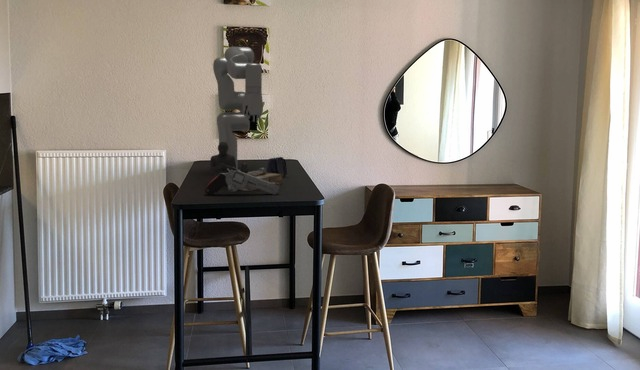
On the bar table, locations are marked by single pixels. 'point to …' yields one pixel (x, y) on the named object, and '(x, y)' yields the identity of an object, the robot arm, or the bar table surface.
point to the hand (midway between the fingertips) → (253, 130)
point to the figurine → (222, 160)
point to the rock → (277, 166)
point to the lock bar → (245, 170)
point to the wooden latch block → (266, 177)
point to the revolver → (227, 180)
